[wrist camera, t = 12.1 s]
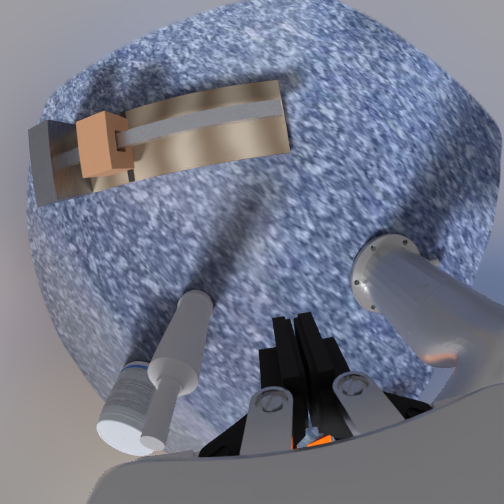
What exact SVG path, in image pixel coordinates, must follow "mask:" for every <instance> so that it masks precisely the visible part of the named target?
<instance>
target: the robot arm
mask: <svg viewBox="0 0 504 504" xmlns="http://www.w3.org/2000/svg"><path fill="white" fill-rule="evenodd" d="M371 246H372V248H371ZM438 266H439V260H438V258H434V259H430V260H428V259H426V258H424V257H422V256H421V255H420V252H419V250H418V248H417V246H416V245H415V244H414V242H412V241H411V240H410V239H409V238H407V237H405V236H403V235H400V234H395V233H388V234H383V235H380V236H378V237H376V238H374V239H372V240H371V241H369V242H368V243H367V244H366V245H365V246H364V247H363V248H362V249H361V250H360V252H359V253H358V255H357V257H356V258H355V260H354V263H353V265H352V269H351V274H350V285H351V291H352V293H353V296H354V297H355V299H356V300H357V302H358V303H359V304H360V305H361V306H362V307H363V308H365V309H366V310H369V311H371V312H376V313H381V314H382V315H383V316H384V317H385V318H386V320H387V321H388V322H389V323H390V324H391V325H392V327H393V328H394V329H395V330H396V331H397V332H398V334H399V335H400V336H401V337H402V338H403V340H404V341H405V342H406V343H407V344H408V346H409V347H410V348H411V349H412V351H413V352H414V353H415V354H416V355H417V356H418V358H419V359H420V360H422V361H423V362H424V363H426V364H427V365H430V366H432V367H437V368H453V367H456V368H455V370H454V372H453V374H452V375H451V377H450V379H449V380H448V381H447V383H446V385H445V387H444V388H443V389H442V391H441V392H440V393H439V395H438V396H437V397H436V398H435V400H434V401H433V402H432V403H431V405H429V404H427V403H424V402H421V401H417V400H413V399H409V398H405V397H402V396H398V395H394V394H391V393H387V392H383V391H382V390H381V389H380V388H379V387H378V386H377V384H376V383H375V382H374V381H373V379H372V378H371V377H370V376H368V375H367V374H365V373H363V372H358V371H350V369H349V367H348V365H347V363H346V361H345V359H344V357H343V355H342V353H341V351H340V349H339V347H338V345H337V343H336V341H335V339H334V337H330V338H325V339H322V337H321V335H320V333H319V330H318V328H317V326H316V323H315V321H314V319H313V316H312V314H311V312H307V313H301V314H298V317H297V318H294V328H295V335H294V331H293V328H292V324H291V321H290V319H285V316H283V317H277V318H272V321H273V328H274V335H275V342H276V347H274V348H267V349H260V350H259V362H260V376H261V390H259V391H257V392H256V393H255V394H254V395H253V396H252V398H251V400H250V405H249V410H248V414H246V415H245V416H244V417H243V418H241V419H240V420H239V421H238V422H236V423H235V424H234V425H232V426H231V427H230V428H229V429H227V430H226V431H225V432H223V433H222V434H221V435H219V436H218V437H217V438H215V439H214V440H212V441H211V442H210V443H208V444H207V445H206V446H205V447H203V448H202V449H201V451H199V452H193V450H189V451H183V452H177V453H170V454H163V455H155V456H146V457H141V458H138V459H137V460H135V461H132V462H127V463H123V464H120V465H117V466H114V467H112V468H110V469H108V470H107V471H105V472H104V473H103V474H102V475H101V477H100V478H99V479H98V480H97V482H96V484H95V485H94V487H93V489H92V492H91V493H90V495H89V497H88V500H87V502H86V504H504V306H503V305H501V304H499V303H497V302H495V301H493V300H491V299H489V298H488V297H486V296H484V295H482V294H481V293H479V292H477V291H476V290H474V289H473V288H471V287H469V286H468V285H466V284H465V283H463V282H461V281H459V280H458V279H456V278H455V277H453V276H451V275H450V274H448V273H446V272H445V271H443V270H442V269H440V268H438ZM355 280H356V281H355ZM308 410H309V415H310V419H311V423H312V427H316V426H318V430H319V433H325V434H327V435H330V436H331V441H332V442H328V443H324V444H319V445H314V446H309V447H303V448H298V446H297V444H298V443H299V442H300V441H301V440H302V439H303V438H304V437H305V436H306V434H305V429H306V428H309V424H308Z"/></svg>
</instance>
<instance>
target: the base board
mask: <svg viewBox="0 0 504 504" xmlns="http://www.w3.org/2000/svg"><path fill="white" fill-rule="evenodd" d="M278 99H280V100H281V94H280V89H279V84H278V80H272V81H263V82H254V83H247V84H240V85H233V86H227V87H221V88H215V89H210V90H205V91H200V92H195V93H191V94H186V95H182V96H178V97H174V98H170V99H166V100H162V101H158V102H155V103H151V104H148V105H144V106H141V107H137V108H134V109H131V110H128V111H124V112H121V113H119V114H116V115H118V116H120V117H123V118H126V119H128V125H129V129H132V128H136V127H139V126H143V125H146V124H150V123H153V122H157V121H161V120H165V119H169V118H173V117H177V116H181V115H186V114H190V113H195V112H199V111H204V110H209V109H215V108H220V107H226V106H232V105H238V104H245V103H252V102H260V101H268V100H278ZM281 106H282V112H283V115H282V117H280V118H271V119H263V120H255V121H248V122H242V123H235V124H229V125H223V126H218V127H212V128H207V129H202V130H197V131H192V132H188V133H183V134H179V135H174V136H170V137H166V138H162V139H158V140H154V141H150V142H147V143H143V144H139V145H136V146H132V154H133V161H134V167H135V168H134V169H131V170H127V171H123V172H120V173H116V174H113V175H109V176H100V177H91V183H92V189H93V193H94V192H98V191H102V190H105V189H109V188H112V187H116V186H120V185H123V184H127V183H131V182H135V181H139V180H143V179H147V178H151V177H155V176H159V175H164V174H168V173H173V172H177V171H182V170H187V169H192V168H197V167H202V166H207V165H212V164H218V163H224V162H229V161H235V160H242V159H248V158H255V157H262V156H269V155H276V154H284V153H290V147H289V141H288V134H287V128H286V122H285V117H284V111H283V105H282V100H281Z"/></svg>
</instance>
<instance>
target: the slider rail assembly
mask: <svg viewBox="0 0 504 504" xmlns="http://www.w3.org/2000/svg"><path fill="white" fill-rule="evenodd" d="M282 115H283V112H282V106H281V100H280V99H278V100H268V101H260V102H252V103H245V104H238V105H232V106H226V107H220V108H215V109H209V110H204V111H199V112H195V113H190V114H186V115H181V116H177V117H173V118H169V119H165V120H161V121H157V122H153V123H150V124H146V125H143V126H139V127H136V128H132V129H129V130H126V131H123V132H120V133H117V134H115V139H116V146H117V151H120V150H122V149H126V148H129V147H132V146H136V145H139V144H143V143H147V142H150V141H154V140H158V139H162V138H166V137H170V136H174V135H179V134H183V133H188V132H192V131H197V130H202V129H207V128H212V127H218V126H223V125H229V124H235V123H242V122H248V121H255V120H263V119H271V118H280V117H282ZM28 133H29V148H30V159H31V168H32V176H33V183H34V189H35V195H36V201H37V206H38V207H42V206H45V205H49V204H53V203H57V202H61V201H66V200H70V199H74V198H79V197H82V196H85V195H88V194H92V193H93V189H92V183H91V177H89V178H83V176H82V170H81V163H80V155H79V147H78V138H77V128H76V125H74V124H69V123H64V122H59V121H53V120H46V121H44V122H42V123H40V124H38V125H36V126H34V127H33V128H31V129H29V130H28ZM94 193H95V192H94Z"/></svg>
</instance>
